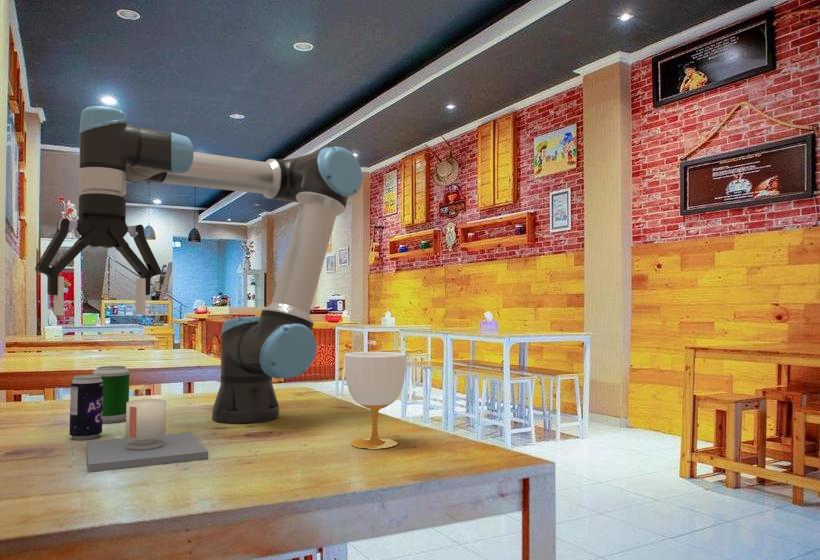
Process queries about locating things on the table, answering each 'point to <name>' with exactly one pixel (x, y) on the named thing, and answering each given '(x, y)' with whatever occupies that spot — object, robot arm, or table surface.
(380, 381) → the cup
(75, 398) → the beverage can
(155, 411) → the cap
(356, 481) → the table surface
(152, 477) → the table surface
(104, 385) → the soda can
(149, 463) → the flat gray rectangular base
